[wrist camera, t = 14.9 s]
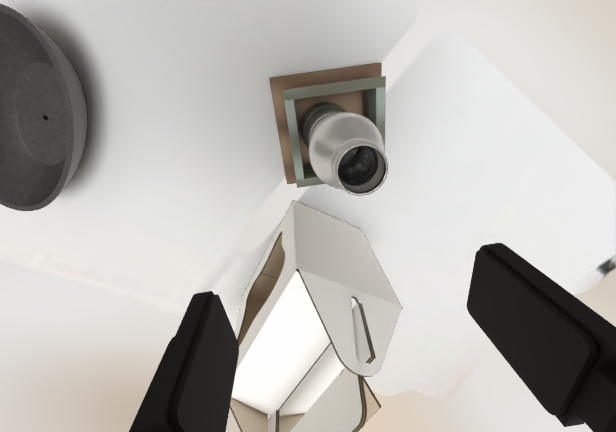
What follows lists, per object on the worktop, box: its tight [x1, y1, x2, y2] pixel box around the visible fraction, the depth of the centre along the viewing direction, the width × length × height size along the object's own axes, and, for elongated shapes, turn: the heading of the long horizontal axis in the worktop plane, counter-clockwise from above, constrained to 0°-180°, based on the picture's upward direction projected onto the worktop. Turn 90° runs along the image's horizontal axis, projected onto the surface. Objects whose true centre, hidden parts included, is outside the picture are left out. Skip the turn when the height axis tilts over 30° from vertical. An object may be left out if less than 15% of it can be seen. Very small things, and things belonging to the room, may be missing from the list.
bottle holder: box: [270, 63, 386, 187], centre depth 33 cm, size 14×14×7 cm
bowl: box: [0, 4, 87, 211], centre depth 31 cm, size 12×22×6 cm, turn 156°
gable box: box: [230, 200, 402, 432], centre depth 34 cm, size 22×13×28 cm, turn 153°
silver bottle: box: [301, 102, 388, 195], centre depth 26 cm, size 6×7×20 cm
